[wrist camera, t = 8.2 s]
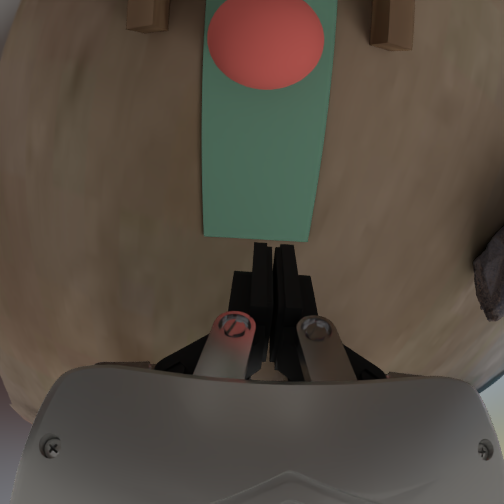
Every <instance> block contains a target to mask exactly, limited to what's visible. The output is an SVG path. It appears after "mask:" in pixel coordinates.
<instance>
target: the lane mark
mask: <svg viewBox="0 0 504 504" xmlns="http://www.w3.org/2000/svg"><path fill="white" fill-rule="evenodd" d="M225 1H227V0H206V12H205V29H204V51H203V80H202V193H203V226H204V236H210V237H229V238H247V239H265V240H282V241H298V242H308V236H309V231H310V225H311V219H312V214H313V208H314V202H315V196H316V190H317V183H318V177H319V170H320V164H321V157H322V150H323V143H324V135H325V128H326V120H327V112H328V103H329V95H330V86H331V76H332V66H333V55H334V43H335V30H336V16H337V0H303V1H305V2H306V3H307V4H308V5H309V6H310V7H311V8H312V9H313V10H314V12H315V13H316V14H317V16H318V18H319V20H320V22H321V25H322V28H323V32H324V47H323V52H322V55H321V58H320V60H319V61H318V63H317V65H316V66H315V68H314V69H313V70H312V71H311V72H310V73H309V74H308V75H307V76H306V77H305V78H303V79H302V80H300V81H298V82H297V83H295V84H292V85H290V86H287V87H284V88H280V89H273V90H262V89H254V88H250V87H246V86H244V85H241V84H239V83H237V82H235V81H233V80H231V79H230V78H229V77H227V76H226V75H225V74H224V73H223V72H222V71H221V70H220V69H219V68H218V67H217V66H216V64H215V62H214V61H213V59H212V57H211V55H210V52H209V48H208V43H207V33H208V27H209V24H210V21H211V19H212V17H213V15H214V14H215V12H216V11H217V9H218V8H219V7H220V6H221V5H222V4H223V3H224V2H225Z"/></svg>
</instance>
